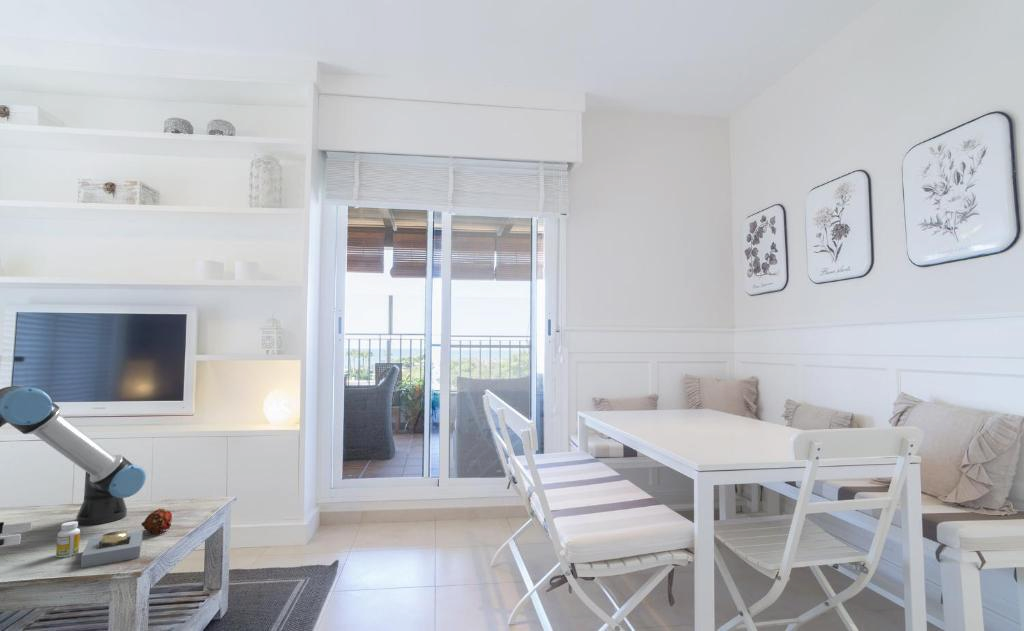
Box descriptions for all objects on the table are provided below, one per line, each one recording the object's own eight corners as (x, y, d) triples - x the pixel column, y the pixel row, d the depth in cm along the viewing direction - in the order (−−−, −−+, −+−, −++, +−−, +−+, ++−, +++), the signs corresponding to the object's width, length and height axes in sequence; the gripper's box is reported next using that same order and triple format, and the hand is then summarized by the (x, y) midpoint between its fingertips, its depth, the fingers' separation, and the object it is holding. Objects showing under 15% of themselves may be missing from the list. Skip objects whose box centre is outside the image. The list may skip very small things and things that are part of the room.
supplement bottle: (74, 550, 162) (77, 519, 162) (81, 553, 159) (83, 522, 160) (53, 555, 157) (55, 524, 158) (59, 559, 154) (62, 527, 155)
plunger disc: (102, 541, 160) (103, 533, 160) (127, 537, 164) (128, 529, 164) (100, 547, 155) (100, 539, 155) (125, 543, 158) (126, 535, 159)
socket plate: (88, 550, 162) (89, 539, 162) (141, 541, 169) (142, 530, 170) (80, 567, 148) (81, 555, 149) (139, 557, 156) (140, 546, 156)
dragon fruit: (157, 541, 174) (151, 537, 182) (181, 522, 179) (174, 519, 188) (140, 524, 171) (135, 521, 180) (165, 504, 177) (159, 502, 185)
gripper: (-61, 545, 152) (34, 532, 163) (-99, 575, 131) (13, 558, 143) (-58, 519, 152) (36, 509, 164) (-95, 545, 132) (16, 531, 143)
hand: (26, 532), depth 153 cm, fingers open, 13 cm apart
